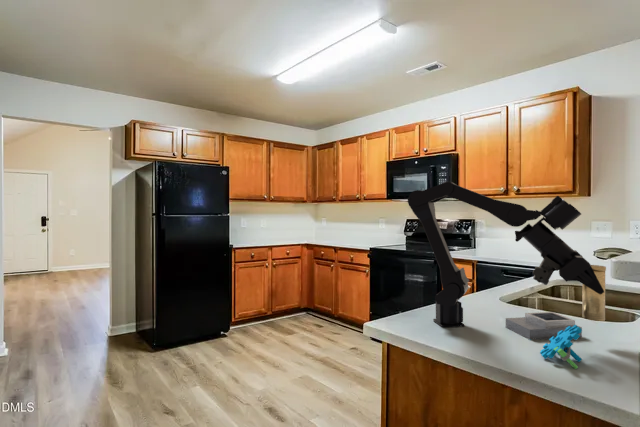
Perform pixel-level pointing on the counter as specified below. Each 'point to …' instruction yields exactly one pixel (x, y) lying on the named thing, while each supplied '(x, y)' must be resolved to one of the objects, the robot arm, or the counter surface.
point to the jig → (540, 325)
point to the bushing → (594, 297)
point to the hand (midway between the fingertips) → (600, 291)
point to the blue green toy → (563, 345)
